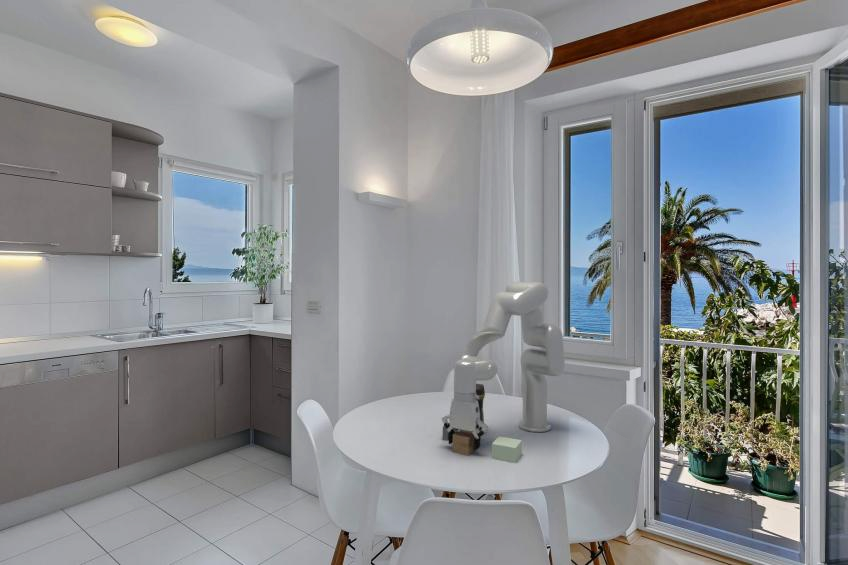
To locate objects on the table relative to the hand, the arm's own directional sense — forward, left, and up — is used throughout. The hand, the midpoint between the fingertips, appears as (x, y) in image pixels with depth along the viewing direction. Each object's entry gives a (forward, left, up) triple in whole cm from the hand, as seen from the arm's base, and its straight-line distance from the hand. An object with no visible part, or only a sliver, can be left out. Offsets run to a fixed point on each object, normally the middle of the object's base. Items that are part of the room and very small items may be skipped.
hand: (463, 445), depth 153 cm
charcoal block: (-8, -10, -2) cm, 13 cm away
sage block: (-4, +14, -2) cm, 15 cm away
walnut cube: (0, 0, -2) cm, 2 cm away
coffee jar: (-20, -7, -2) cm, 21 cm away
